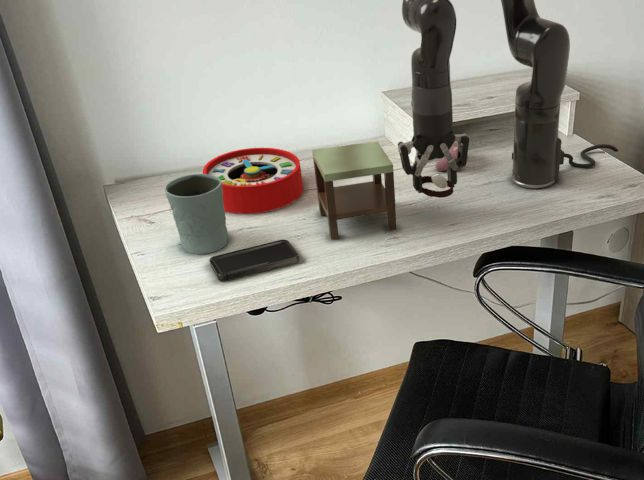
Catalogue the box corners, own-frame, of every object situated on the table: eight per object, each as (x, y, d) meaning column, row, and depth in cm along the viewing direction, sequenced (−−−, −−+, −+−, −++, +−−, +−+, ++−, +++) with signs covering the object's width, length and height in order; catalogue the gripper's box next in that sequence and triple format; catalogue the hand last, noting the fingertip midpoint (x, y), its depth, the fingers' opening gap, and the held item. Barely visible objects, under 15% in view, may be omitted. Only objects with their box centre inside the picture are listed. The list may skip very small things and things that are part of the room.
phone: (207, 257, 149) (286, 238, 154) (208, 263, 149) (287, 243, 155) (219, 277, 143) (300, 256, 148) (220, 282, 144) (301, 261, 149)
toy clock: (216, 195, 159) (192, 158, 173) (221, 222, 162) (197, 184, 177) (313, 174, 166) (283, 141, 181) (316, 200, 170) (286, 165, 184)
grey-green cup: (182, 260, 150) (168, 200, 143) (174, 236, 158) (160, 178, 151) (237, 248, 154) (226, 190, 146) (227, 225, 161) (215, 169, 154)
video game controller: (451, 179, 181) (465, 153, 177) (433, 169, 180) (446, 143, 176) (459, 161, 189) (473, 136, 184) (442, 152, 188) (455, 126, 184)
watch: (458, 192, 162) (458, 175, 160) (446, 201, 159) (445, 184, 157) (425, 184, 165) (425, 167, 163) (413, 193, 162) (412, 176, 160)
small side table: (381, 203, 168) (377, 141, 160) (396, 229, 159) (393, 164, 151) (319, 212, 165) (312, 149, 157) (331, 240, 156) (324, 174, 148)
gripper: (400, 118, 147) (405, 203, 157) (475, 107, 150) (475, 191, 160) (389, 104, 153) (395, 186, 163) (462, 94, 156) (463, 175, 166)
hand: (435, 188), depth 162 cm, fingers closed on watch, 6 cm apart
